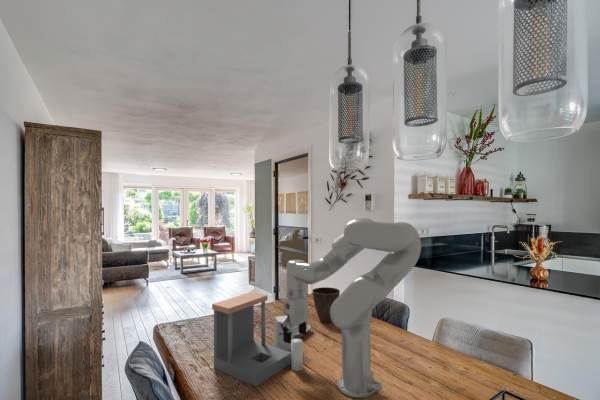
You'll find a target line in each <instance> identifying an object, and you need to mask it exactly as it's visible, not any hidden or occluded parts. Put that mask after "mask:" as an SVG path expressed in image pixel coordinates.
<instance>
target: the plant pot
mask: <svg viewBox="0 0 600 400" xmlns="http://www.w3.org/2000/svg"><path fill="white" fill-rule="evenodd" d="M311 292H312V298H313V305H314V307H315V311H316V314H317V317H318V320H319V321H320V323H326V324H327V323H333V322H332V320H331V318H330V308H331V305H332V304H333V302H334V301H335V300H336V299H337V298H338V297H339V296H340V295H341V293H340V292H341V290H340V289H339V288H335V287H326V286H324V287H323V286H322V287H316V288H313V289H312V291H311Z"/></svg>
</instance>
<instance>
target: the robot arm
mask: <svg viewBox="0 0 600 400" xmlns="http://www.w3.org/2000/svg"><path fill="white" fill-rule="evenodd" d="M421 242H422V241H421V238H420V234H419V232H418V230H417V229H416V227H414V226H413V225H412V224H411V223H408V222H404V221H399V222H397V221H396V222H384V221H382V222H380V221H379V222H378V221H374V220H372V219H370V218H355V219H352V220H350V221H349V222H347V224H346V225H345V227H344V229H343V232H342V233H341V234H340V235H339V236H338V237H336V238H335V239H334V240H332V242H331V249H330V251H329V252H327V253H326V254H325V255H323V256H322V257H321V258H320V259H318V260H315V261H312V262H311V261H310V262H306V261H305V260H303V259H290V260H288V261H287V263H286V280H285V281H286V286H285V290H286V291H285V302H284V309H283V316H284V318H283V319H282V320H281V322H280V325H281V329H282V331H284V334H283V341H284V342H286V343H289V344H290V343H291V332H290V331H291V328H292V326H293V327H295V326H298V325H299V333H300V334H304V336H306V335H307V333H306V324H308V319H309V314H310V310H309V303H308V298H307V297H308V296H307V285H314V284H317V283H319V282H322V281H324V280H326V279H328V278H329V277H331V276H332V275H334V274H335V273H336V272H338V271H339V270H340V269H342V267H344V266H345V265H346V264H347V263H348V262H349V261H351V259H354V257H356V255H358V254H359V253H361V252H362V251H363V250H365V249H367V250H374V251H381V252H388V253H387V254H386V255H385V256H383V257H382V259H381V260H380V261H379V262H378V264H376V266H374V267H373V268H372V269H371V270H369V271H367V272H366V273H364V274H362V275H360V276H357V278H355V279H354V280H353V281H352V282H351V283H350V284H349V285H348V286H347V287H346V288H345V289H344V290H343V291H342V292H341V293H340V294H339V297H338V298H337V299H336V300H335V301H334V302H333V304H332V305H331V308H330V318H331V320H332V322H331V323H332V324H333V325H334V326H335V327H336V328H337V329H340V330H341V376H340V377H339V378H338V380H337V388H338V390H339V391H340V392H341V393H342V394H344V395H346V396H349V397H351V398H359V399H360V398H361V399H362V398H367V397H370V396H372V395H373V394H374V393H376V392H378V393H382V392H383V390H384V389H383V385H382V381H379V380H376V379H375V378H374V373H372V372H371V370H372V369H371V367H372V365H371V362H372V361H371V356H372V355H371V323H372V315H373V309H374V308H375V307H377V305H379V303H381V302H382V301H384V299H386V298H387V297H388V295H389V294H390V293H391V292H392V291H393V290H394V289H395V287H396V286H398V285H399V284H400V282H401V281H402V280H403V279H404V278H405V277H406V276H407V275H408V274H409V273H410V272H411V271H412V270H413V268H414V267H415V266H416V264H417V262H418V260H419V259H420V255H421V251H422V243H421ZM287 325H288V326H289V328H287Z"/></svg>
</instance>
